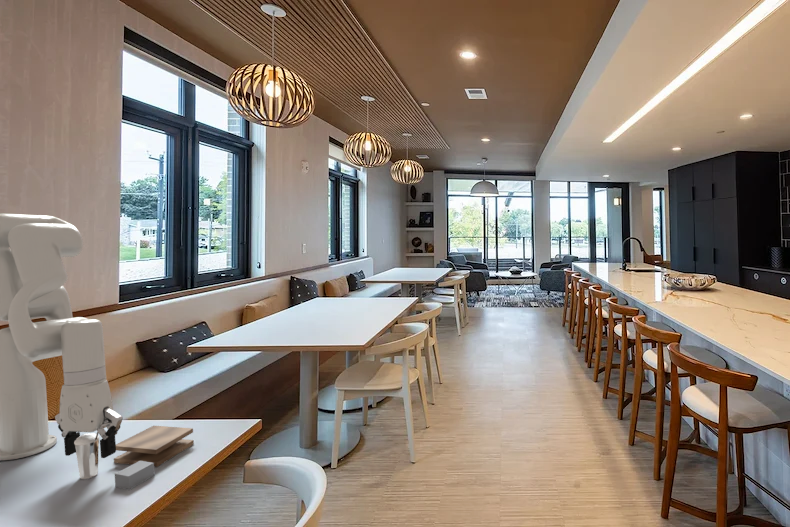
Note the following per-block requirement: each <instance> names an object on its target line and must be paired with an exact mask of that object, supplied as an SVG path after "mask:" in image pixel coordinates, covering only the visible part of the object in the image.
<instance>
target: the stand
mask: <svg viewBox="0 0 790 527" xmlns="http://www.w3.org/2000/svg"><path fill="white" fill-rule="evenodd" d="M193 433H194V428H193V427H192V428H191V427H180V426H179V427H177V426H165V425H163V426H162V425H151V426H150V427H148V428H145V429H144V430H142V431H140V432H138V433H136V434H134V435H132V436H130V437H128V438H126V439H124V440H122V441H120V442H118V443H116V451H117V452H118V451H119V452H120V451H121V452H123V453H122V454H119V455H118V456H116V457H114V458H113V463H114V464H123V465H130V466H131V465H133V464H135V463H137V462H138V461H146V462H152V463H154V468H158V467H160V466H161V465H162V464H165V463H166V462H167V461H169V460H171V459H173V458H174V457H176V456H177V455H179V454H180V453H182V452H183V451H185V450H186V449H188V448H190V447H191V446H193V445H194V444H195V442H194V440H193V439H186V437H188V436H189V435H191V434H193Z"/></svg>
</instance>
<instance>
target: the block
mask: <svg viewBox="0 0 790 527" xmlns="http://www.w3.org/2000/svg"><path fill="white" fill-rule="evenodd" d="M153 477H155V467H154V463H152V462H146V461H138V462H137V463H135V464H133V465H131V464H130V465H129V466H127V467H125V468H123V469H122V470H119V471H117V472H115V473H114V486H115V488H118V489H124V490H128V491H130V490H132V489H133V488H135V487H137V486H139V485H140V484H142V483H143V482H145V481H147V480H149V479H151V478H153Z"/></svg>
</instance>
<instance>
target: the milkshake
mask: <svg viewBox="0 0 790 527" xmlns="http://www.w3.org/2000/svg"><path fill="white" fill-rule="evenodd" d="M74 445H75V451H76V452H75V455H76V459H77V460H76V461H77V466H78V474H79V478H80V480H88V479H92V478H94V477H96V476H97V475H98V474H99V450H100V434H99V433H98V432H96V433H95V432H87V433H82V435H81V434H80V436H79V437H78V438H77V439H76V440H75V441H74Z"/></svg>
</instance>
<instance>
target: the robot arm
mask: <svg viewBox="0 0 790 527" xmlns="http://www.w3.org/2000/svg"><path fill="white" fill-rule="evenodd" d="M83 248H84V239H83V236H82V234H81V232H80V230H79V229H78V228H77V227H76V226H75V225H73V224H72V223H70V222H67V221H66V220H64V219H61V218H58V217H56V216H53V215H44V214H43V215H42V214H38V215H37V214H23V213H22V214H20V213H0V322H8V327H4V328H1V329H0V461H11V460H18V459H21V458H25V457H30V456H33V455H36V454H39V453H42V452H45V451H46V450H48V449H50V448H52V447H53V446H55V445H56V443H57V442H58V441H57V440H58V439H57V436H56V435H53V434H49V433H50V432H49V416H48V413H49V412H48V400H47V399H48V397H47V396H48V395H47V383H46V382H47V381H46V380H47V379H46V377H45V374H44V373H43V371H42V370H40V369H39V368H38V367H37V366H35V365H34V364H33V363H34V362H36V361H40V360H44V359H45V360H46V359H49V358H55V357H60V356H62V357H61V358H62V372H63V374H62V375H63V384H62V386H61V389H60V397H59V413H57V414H56V415H55V416H54V419H55V422H56V423H57V425H58V426H57V427H58V430H59V431H60V432H61V434H60V435H61V437H62V438H63V441H64V443H63V444H64V455H65V456H71V455H73V454H74V453H75V454H76V451H75V445H74V441H75V440H76V439H77V438H78V437H79V436H81V433H95V432H96V431H97V432H98V435H99V437H100V438H102V439H99V450H100V458H101V459H105V458H108V457H109V456H111V455H114V454H115V453H116V452H117V450H116V444H117V443H116V442H117V441H116V435H117V434H118V431H119V430H120V429H121V425H122V422H123V418H124V417H123V416H122V415H121V414H119V413H118V412H116V411H115V410H114V405H113V399H112V393H111V388H110V385H109V382H108V380H107V370H106V369H107V368H106V367H107V366H106V355H105V354H106V353H105V341H104V340H105V339H104V327H103V326H104V325H103V323H102V321H101V320H99V319H95V318H87V317H85V316H84V317H83V316H76V317H74V316H73V310H72V304H71V299H70V295H69V292H68V291H67V289H66V287H65V286H64V285H65V284H66V283H67V282H68V280H69V275H68V272H67V270H66V268H65V265H64V262H63V259H62V258H72V257H73V258H75V257H77V256H79V255H80V254H81V253H82V251H83ZM40 318H41V319H42V318H44V319H45V320H42V321H36V322H33V321H32V319H33V320H34V319H35V320H36V319H40ZM105 428H106V429H107V430H105ZM97 432H96V433H97Z"/></svg>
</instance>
